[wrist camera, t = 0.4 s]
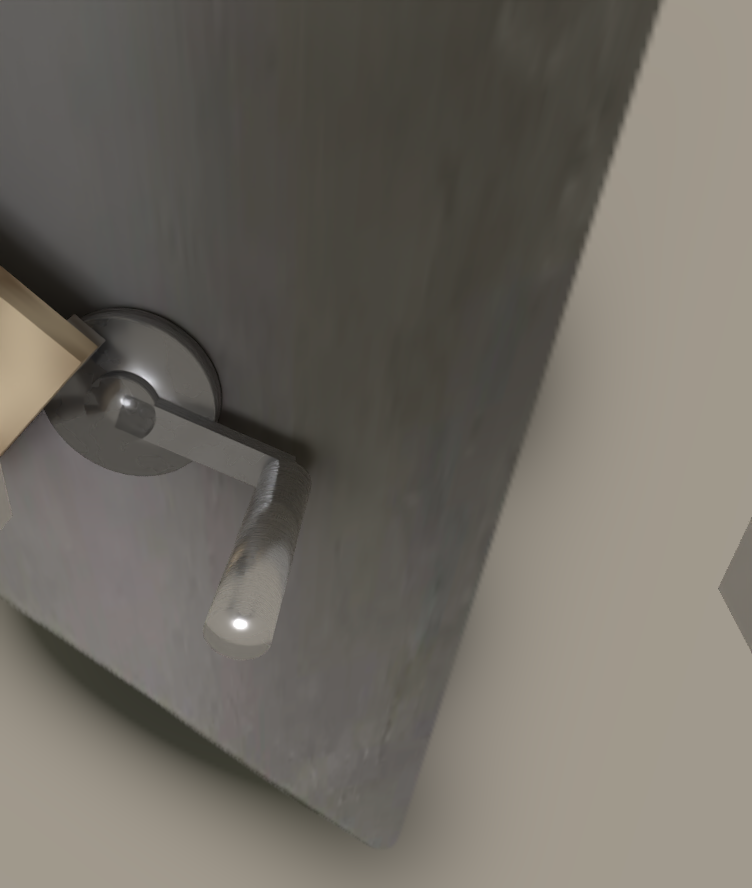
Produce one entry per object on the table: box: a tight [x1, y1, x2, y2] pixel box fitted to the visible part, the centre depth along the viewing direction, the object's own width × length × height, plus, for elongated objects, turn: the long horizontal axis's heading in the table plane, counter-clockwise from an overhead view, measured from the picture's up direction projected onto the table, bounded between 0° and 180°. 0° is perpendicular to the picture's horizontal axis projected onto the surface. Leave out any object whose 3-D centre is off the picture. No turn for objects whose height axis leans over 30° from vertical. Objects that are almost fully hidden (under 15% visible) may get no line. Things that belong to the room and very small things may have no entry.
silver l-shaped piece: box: [44, 308, 311, 660], centre depth 35 cm, size 16×10×15 cm, turn 64°
